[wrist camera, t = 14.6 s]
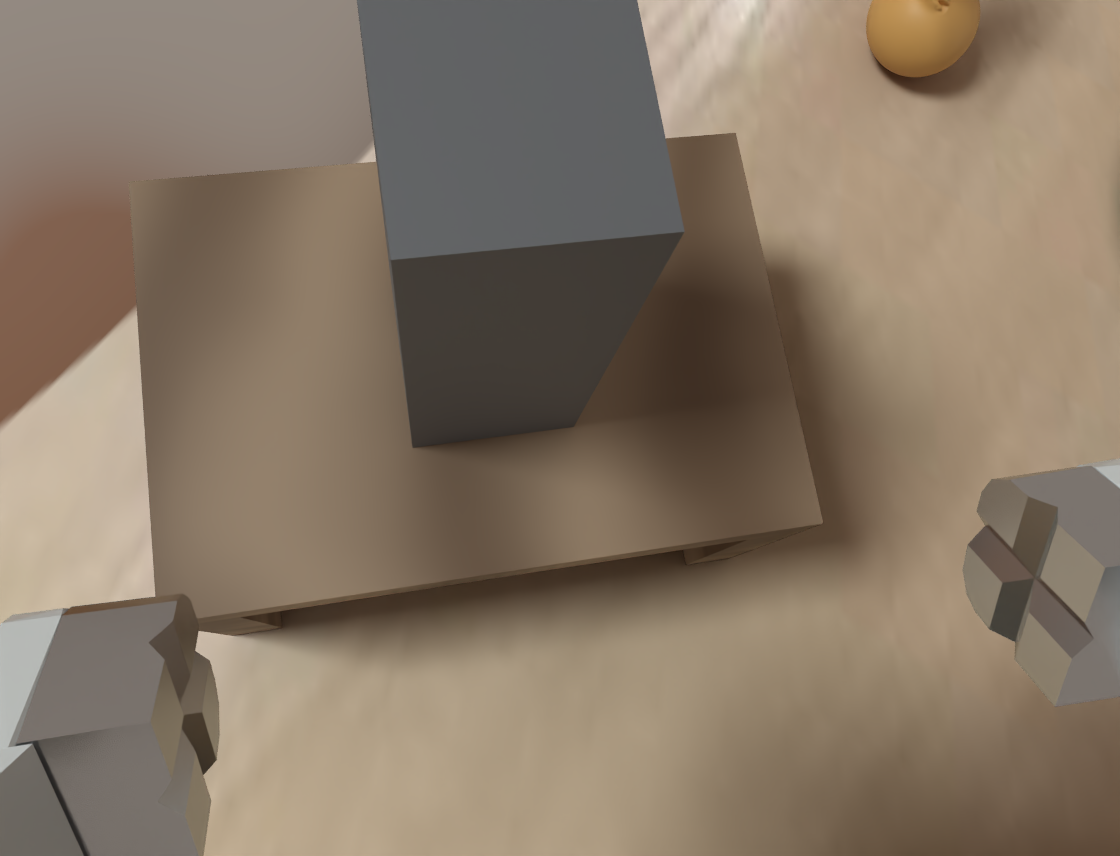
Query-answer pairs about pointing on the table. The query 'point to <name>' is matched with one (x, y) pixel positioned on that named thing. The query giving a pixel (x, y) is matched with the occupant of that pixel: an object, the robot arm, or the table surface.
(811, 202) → the table surface
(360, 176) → the walnut shelf
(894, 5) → the figurine
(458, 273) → the tall grey pillar block
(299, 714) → the table surface
